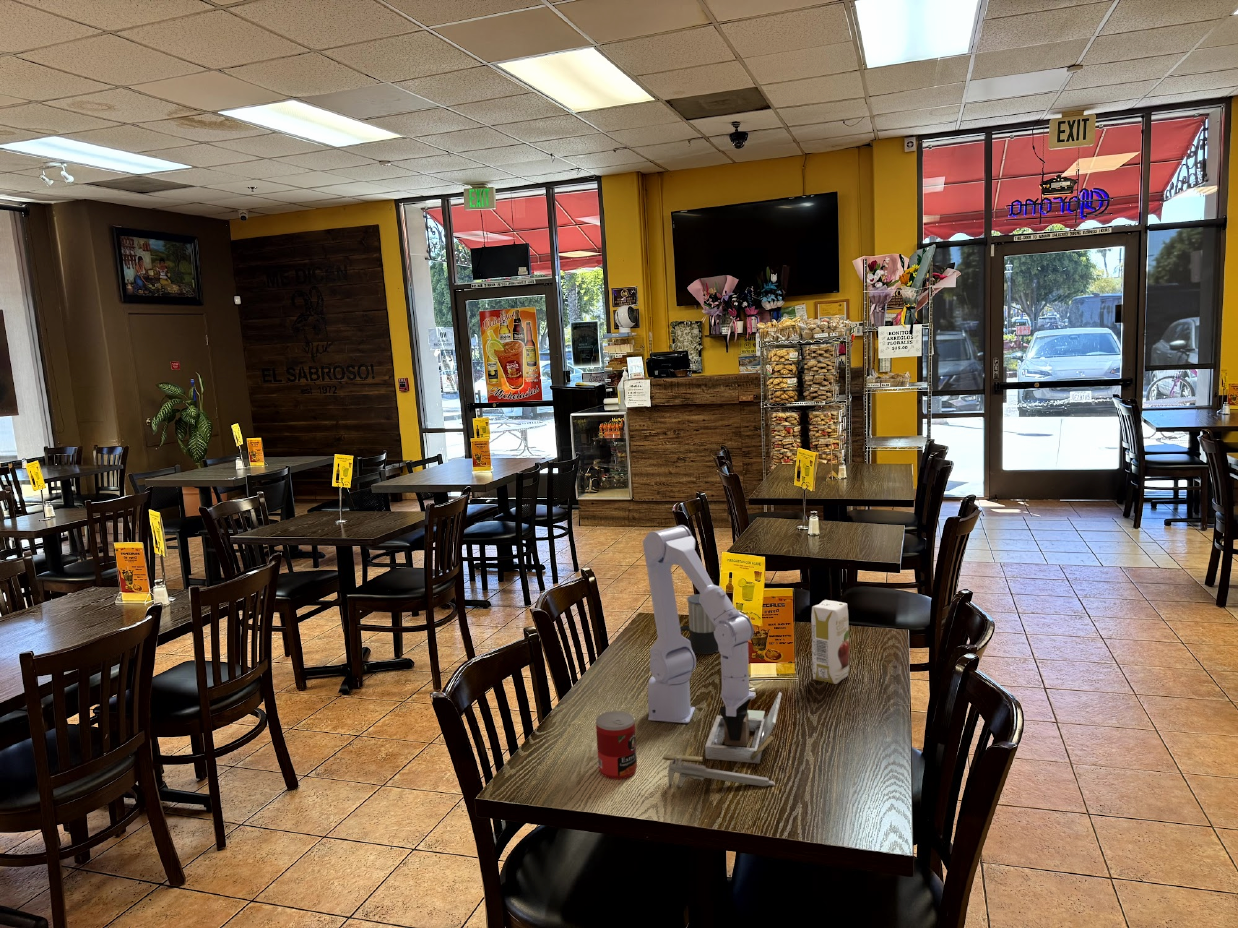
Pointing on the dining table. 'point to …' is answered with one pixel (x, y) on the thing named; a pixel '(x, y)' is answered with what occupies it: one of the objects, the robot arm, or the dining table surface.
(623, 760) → the canned food
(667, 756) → the brass bar
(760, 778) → the caliper
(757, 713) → the green rubber mat
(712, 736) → the aluminium case
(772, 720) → the propped lid
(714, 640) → the milk frother
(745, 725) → the walnut block
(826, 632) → the juice carton
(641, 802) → the dining table surface
